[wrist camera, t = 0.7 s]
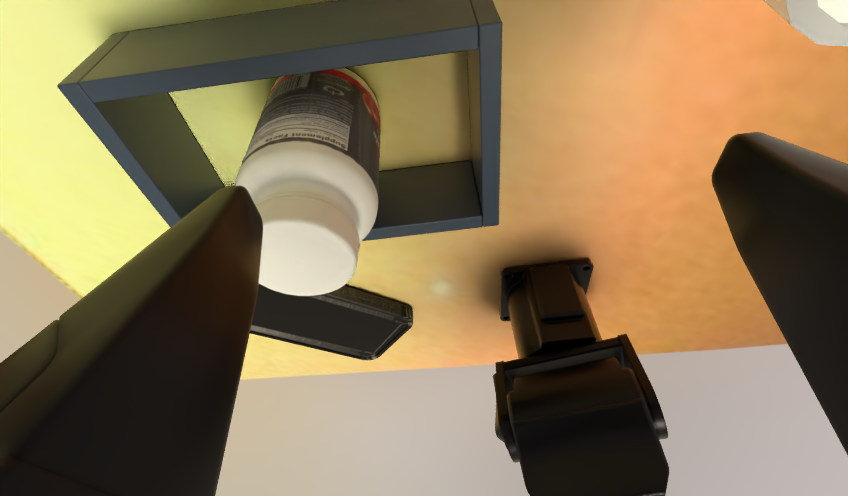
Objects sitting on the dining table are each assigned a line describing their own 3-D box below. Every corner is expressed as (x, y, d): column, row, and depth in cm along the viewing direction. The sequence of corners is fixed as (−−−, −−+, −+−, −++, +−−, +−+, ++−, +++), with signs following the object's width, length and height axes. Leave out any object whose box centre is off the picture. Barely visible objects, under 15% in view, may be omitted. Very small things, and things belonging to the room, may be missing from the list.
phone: (373, 362, 38) (191, 319, 32) (373, 350, 39) (196, 307, 32) (419, 319, 33) (216, 259, 27) (418, 307, 34) (221, 246, 28)
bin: (486, 169, 24) (499, 225, 21) (220, 202, 25) (196, 260, 22) (483, -22, 17) (502, 21, 14) (112, 33, 18) (55, 85, 15)
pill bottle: (380, 159, 23) (375, 309, 17) (279, 154, 23) (234, 308, 16) (382, 60, 19) (376, 207, 13) (259, 52, 19) (188, 201, 12)
